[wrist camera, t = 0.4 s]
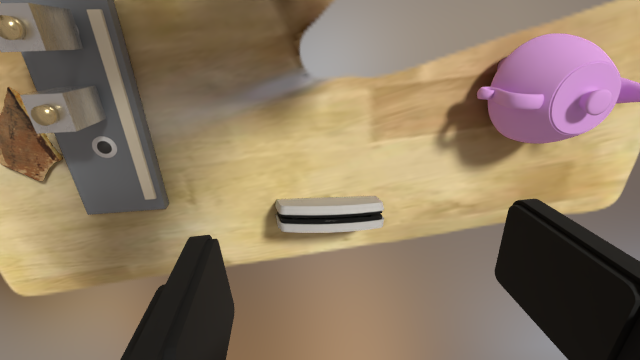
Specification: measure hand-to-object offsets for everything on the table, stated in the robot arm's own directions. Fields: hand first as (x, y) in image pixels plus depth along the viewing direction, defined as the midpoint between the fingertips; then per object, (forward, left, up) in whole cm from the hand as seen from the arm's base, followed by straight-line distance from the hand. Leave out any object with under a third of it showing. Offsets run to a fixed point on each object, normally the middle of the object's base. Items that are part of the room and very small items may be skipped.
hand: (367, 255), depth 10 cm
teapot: (+1, +33, -36) cm, 48 cm away
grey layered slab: (+18, +3, -36) cm, 40 cm away
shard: (+4, -38, -36) cm, 53 cm away
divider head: (0, -27, -33) cm, 43 cm away
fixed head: (-8, -27, -33) cm, 44 cm away
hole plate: (+2, -27, -35) cm, 45 cm away
